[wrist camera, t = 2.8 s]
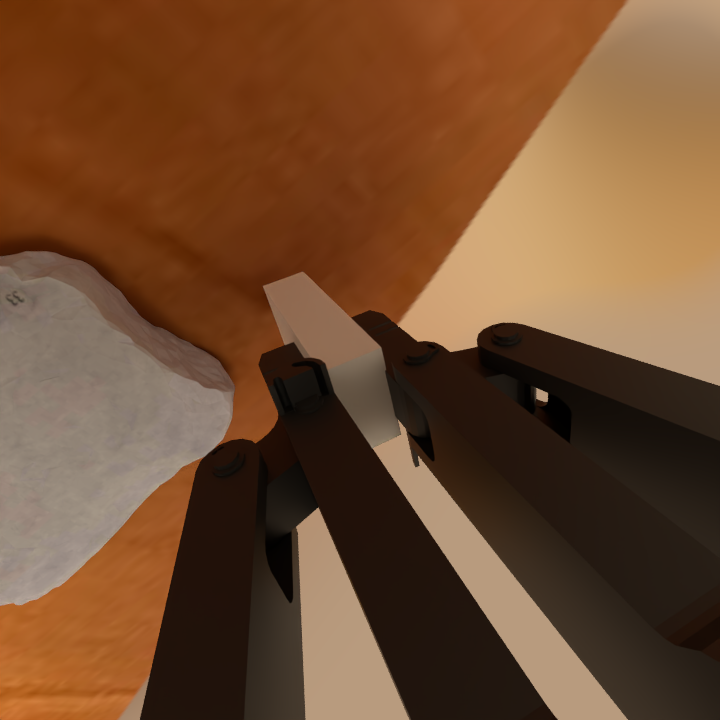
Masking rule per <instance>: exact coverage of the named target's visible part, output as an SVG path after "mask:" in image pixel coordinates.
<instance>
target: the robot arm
mask: <svg viewBox="0 0 720 720" xmlns="http://www.w3.org/2000/svg"><path fill="white" fill-rule="evenodd" d="M263 288H264V291H265V293H266V296H267V299H268V301H269V304H270V307H271V310H272V312H273V315H274V318H275V320H276V323H277V326H278V329H279V331H280V334H281V337H282V339H283V342H284V346H282V347H279V348H277V349H274V350H272V351H269V352H267V353H264V354H262V356H261V359H260V362H259V367H260V370H261V372H262V375H263V377H264V379H265V382H266V384H267V386H268V389H269V391H270V394H271V396H272V398H273V401H274V403H275V406H276V408H277V410H278V420H277V422H276V424H275V426H274V428H273V429H272V430H271V431H270V432H269V433H268V434H267V435H266V436H265V437H264V438H263V439H261V440H260V441H258V442H257V443H256V444H255V443H254V442H253V441H251V440H246V439H238V440H231V441H228V442H226V443H223V444H221V445H219V446H217V447H216V448H214V449H213V450H212V451H210V452H209V453H208V454H207V455H206V456H205V457H204V458H203V459H202V460H201V461H200V464H199V466H198V468H197V470H196V473H195V478H194V482H193V487H192V491H191V496H190V500H189V504H188V509H187V513H186V518H185V522H184V527H183V531H182V535H181V540H180V544H179V549H178V553H177V558H176V562H175V566H174V571H173V575H172V580H171V584H170V589H169V593H168V597H167V602H166V606H165V611H164V615H163V620H162V624H161V628H160V633H159V637H158V642H157V646H156V651H155V655H154V659H153V664H152V668H151V673H150V677H149V682H148V686H147V690H146V695H145V699H144V704H143V708H142V713H141V717H140V720H305V701H304V676H303V652H302V628H301V603H300V579H299V557H298V555H299V554H298V532H297V529H296V526H297V525H298V524H299V523H301V522H302V521H303V520H304V519H305V518H307V517H308V516H309V515H310V514H311V513H312V512H313V511H314V510H316V509H317V508H318V507H319V509H320V512H321V514H322V516H323V519H324V521H325V523H326V526H327V528H328V530H329V533H330V535H331V537H332V540H333V542H334V544H335V547H336V549H337V551H338V554H339V556H340V558H341V561H342V563H343V565H344V568H345V570H346V573H347V575H348V577H349V579H350V582H351V584H352V587H353V589H354V591H355V594H356V596H357V598H358V600H359V603H360V605H361V607H362V610H363V612H364V615H365V617H366V619H367V622H368V624H369V626H370V629H371V631H372V633H373V635H374V638H375V640H376V642H377V645H378V647H379V650H380V652H381V654H382V657H383V659H384V661H385V663H386V666H387V668H388V670H389V673H390V675H391V678H392V680H393V682H394V684H395V687H396V689H397V692H398V694H399V696H400V699H401V701H402V703H403V706H404V708H405V710H406V713H407V715H408V717H409V720H558V719H557V718H556V717H555V716H554V715H553V713H552V712H551V711H550V709H549V708H548V707H547V705H546V704H545V702H544V701H543V699H542V698H541V696H540V695H539V694H538V692H537V691H536V689H535V688H534V686H533V685H532V683H531V682H530V680H529V679H528V677H527V676H526V675H525V673H524V672H523V670H522V669H521V667H520V665H519V664H518V662H517V661H516V660H515V658H514V657H513V655H512V654H511V652H510V651H509V649H508V648H507V646H506V645H505V643H504V642H503V640H502V639H501V637H500V636H499V635H498V633H497V631H496V630H495V629H494V627H493V626H492V624H491V623H490V621H489V620H488V619H487V617H486V615H485V614H484V612H483V611H482V610H481V608H480V607H479V605H478V603H477V602H476V600H475V599H474V598H473V596H472V595H471V593H470V592H469V590H468V589H467V587H466V586H465V584H464V583H463V581H462V580H461V578H460V577H459V575H458V574H457V572H456V571H455V570H454V568H453V567H452V565H451V564H450V562H449V561H448V559H447V558H446V556H445V555H444V553H443V552H442V550H441V549H440V547H439V546H438V544H437V543H436V542H435V540H434V539H433V537H432V536H431V534H430V533H429V531H428V530H427V528H426V527H425V525H424V524H423V522H422V521H421V519H420V518H419V516H418V515H417V514H416V512H415V510H414V509H413V508H412V506H411V505H410V503H409V502H408V500H407V499H406V497H405V496H404V494H403V493H402V491H401V490H400V488H399V487H398V486H397V484H396V482H395V481H394V480H393V478H392V477H391V475H390V474H389V472H388V471H387V469H386V468H385V466H384V465H383V463H382V462H381V460H380V459H379V457H378V456H377V454H376V453H375V452H374V450H373V449H372V448H374V447H376V446H378V445H380V444H382V443H384V442H386V441H389V440H391V439H393V438H395V437H397V436H399V435H401V432H400V427H399V423H398V420H399V421H400V422H401V423H402V425H403V426H404V427H405V428H406V431H407V436H408V441H409V445H410V450H411V454H412V459H413V462H414V465H415V467H418V466H419V461H418V456H419V457H420V458H421V459H422V461H423V462H424V463H425V465H426V466H427V467H428V468H429V470H430V471H431V472H432V473H433V475H434V476H435V477H436V478H437V479H438V481H439V482H440V483H441V485H442V486H443V487H444V488H445V490H446V491H447V492H448V493H449V495H450V496H451V497H452V498H453V500H454V501H455V502H456V504H457V505H458V506H459V507H460V508H461V510H462V511H463V512H464V514H465V515H466V516H467V517H468V519H469V520H470V521H471V522H472V524H473V525H474V526H475V527H476V529H477V530H478V531H479V532H480V534H481V535H482V536H483V537H484V539H485V540H486V541H487V543H488V544H489V545H490V546H491V548H492V549H493V550H494V551H495V553H496V554H497V555H498V556H499V558H500V559H501V560H502V562H503V563H504V564H505V565H506V567H507V568H508V569H509V570H510V572H511V573H512V574H513V575H514V577H515V578H516V579H517V580H518V582H519V583H520V584H521V585H522V587H523V588H524V589H525V590H526V592H527V593H528V594H529V595H530V597H531V598H532V599H533V601H534V602H535V603H536V604H537V606H538V607H539V608H540V609H541V611H542V612H543V613H544V614H545V616H546V617H547V618H548V619H549V621H550V622H551V623H552V625H553V626H554V627H555V628H556V629H557V631H558V632H559V633H560V635H561V636H562V637H563V638H564V640H565V641H566V642H567V643H568V645H569V646H570V647H571V648H572V650H573V651H574V652H575V653H576V655H577V656H578V657H579V658H580V660H581V661H582V662H583V664H584V665H585V666H586V667H587V668H588V670H589V671H590V672H591V674H592V675H593V676H594V677H595V679H596V680H597V681H598V682H599V684H600V685H601V686H602V688H603V689H604V690H605V691H606V693H607V694H608V695H609V696H610V698H611V699H612V700H613V701H614V703H615V704H616V705H617V706H618V708H619V709H620V710H621V711H622V713H623V714H624V715H625V716H626V718H627V719H628V720H720V386H718V385H715V384H712V383H708V382H705V381H702V380H699V379H695V378H692V377H689V376H686V375H683V374H679V373H676V372H673V371H670V370H666V369H664V368H660V367H657V366H654V365H651V364H648V363H644V362H641V361H638V360H635V359H632V358H629V357H625V356H622V355H619V354H615V353H612V352H609V351H606V350H603V349H600V348H597V347H593V346H590V345H587V344H584V343H581V342H577V341H574V340H571V339H568V338H565V337H561V336H558V335H555V334H551V333H549V332H545V331H542V330H539V329H536V328H532V327H530V326H526V325H523V324H517V323H499V324H495V325H492V326H489V327H488V328H485V329H483V330H482V331H481V332H480V333H479V334H478V338H477V345H478V347H475V348H470V349H466V350H461V351H455V352H449V351H448V350H447V349H445V348H444V347H443V346H441V345H439V344H437V343H435V342H428V341H423V342H417V341H416V340H415V339H413V338H412V337H411V336H410V335H409V334H407V333H406V332H405V331H404V330H402V329H401V328H400V327H398V325H396V324H395V323H394V322H392V321H391V320H390V319H389V318H388V317H386V316H385V315H384V314H382V313H378V312H375V311H371V310H369V311H367V312H364V313H362V314H359V315H357V316H354V317H352V318H351V317H350V316H348V315H347V314H346V313H345V312H344V311H343V310H342V309H341V308H340V307H339V306H338V305H337V304H336V303H335V302H334V301H333V300H332V299H331V298H330V297H329V296H328V295H327V294H326V293H325V292H324V291H323V290H322V289H321V288H320V287H319V286H318V285H317V284H316V283H315V282H314V281H312V280H311V279H310V278H309V277H308V276H307V275H306V274H305V273H304V272H300V273H297V274H295V275H292V276H289V277H286V278H284V279H281V280H278V281H275V282H272V283H270V284H267V285H264V286H263ZM536 388H538V389H540V390H543V391H545V392H547V393H548V402H543V401H540V400H538V399H536Z"/></svg>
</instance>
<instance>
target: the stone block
mask: <svg viewBox="0 0 720 720" xmlns="http://www.w3.org/2000/svg"><path fill="white" fill-rule="evenodd" d="M234 391H235V385H234V383H233V382H232V380H231V378H230V377H229V375H228V374H227V372H226V371H225V370H224V368H223V367H222V365H221V363H220V362H219V360H217V359H216V358H214V357H213V356H211V355H210V354H208V353H207V352H205V351H203V350H202V349H199V348H197V347H195V346H193V345H192V344H191V343H190V342H187V341H184V340H182V339H179V338H178V337H176V336H175V335H174V334H172V333H170V332H168V331H166V330H165V329H163V328H160V327H155V326H153V325H152V324H150V323H149V322H148V321H146V320H145V319H144V318H142V317H141V316H140V315H139V314H138V312H137V311H136V310H135V309H134V308H133V307H132V306H131V305H130V303H129V302H128V301H127V299H126V298H125V297H124V295H123V294H122V293H121V291H120V290H118V289H117V288H116V287H115V286H113V285H112V284H111V283H110V282H108V281H107V280H106V279H104V278H103V277H102V276H101V275H100V274H99V273H98V272H97V270H96V269H95V268H93V267H92V266H90V265H89V264H88V263H86V262H84V261H82V260H77V259H72V258H69V257H65V256H62V255H59V254H57V253H54V252H48V251H24V252H22V253H19V254H13V255H7V256H0V606H1V605H5V604H10V603H15V604H16V605H23V604H25V603H26V602H28V601H30V600H36V599H38V598H40V597H41V596H43V595H45V594H47V593H48V592H49V591H50V590H52V589H53V588H55V587H58V586H61V585H62V584H63V583H64V582H65V581H66V580H68V579H69V578H70V577H71V576H72V575H73V574H74V573H75V572H77V571H78V570H79V569H80V568H81V567H82V566H83V565H84V564H85V563H86V562H87V561H88V560H89V559H90V558H91V557H92V556H93V555H94V554H96V553H97V552H98V551H99V550H100V549H101V548H102V547H103V546H104V545H105V544H106V543H107V542H108V540H109V539H110V538H111V537H112V536H113V535H114V534H115V533H116V532H117V531H118V530H119V529H120V528H121V527H122V526H123V525H124V523H125V522H126V521H127V520H128V519H129V517H130V516H131V515H132V514H133V513H134V511H135V510H136V509H137V508H138V507H139V506H140V505H141V504H142V503H143V501H144V500H145V499H146V498H147V497H148V496H149V495H150V494H151V493H152V492H153V491H155V490H156V489H157V488H158V487H159V486H160V485H161V484H163V483H165V482H166V481H168V480H169V479H170V478H172V477H173V476H174V475H175V474H176V473H177V472H178V471H179V470H180V469H181V468H182V467H183V466H185V465H188V464H190V463H191V462H193V461H195V460H198V459H200V458H202V457H204V456H206V455H207V454H208V453H209V452H210V451H212V450H213V449H214V448H215V447H216V446H217V445H218V444H219V443H220V442H221V441H222V440H223V438H224V436H225V434H226V431H227V429H228V427H229V425H230V423H231V419H232V414H233V396H234Z"/></svg>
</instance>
